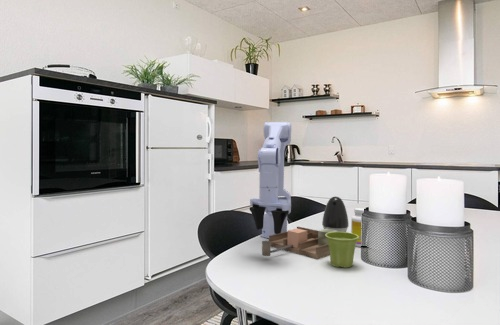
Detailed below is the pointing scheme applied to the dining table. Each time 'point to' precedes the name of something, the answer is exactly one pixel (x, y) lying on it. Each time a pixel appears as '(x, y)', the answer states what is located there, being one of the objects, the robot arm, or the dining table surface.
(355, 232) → the supplement bottle
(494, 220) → the dining table surface
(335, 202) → the black rounded cone
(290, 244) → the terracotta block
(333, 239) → the plant pot
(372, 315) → the dining table surface
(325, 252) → the lane shelf
